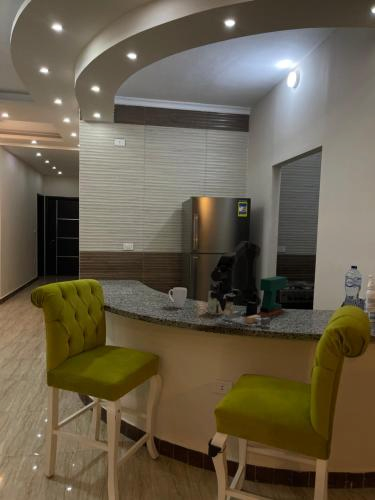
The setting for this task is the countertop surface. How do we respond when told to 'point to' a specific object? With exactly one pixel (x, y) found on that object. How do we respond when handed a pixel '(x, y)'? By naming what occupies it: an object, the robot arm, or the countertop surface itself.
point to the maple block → (227, 308)
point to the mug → (178, 296)
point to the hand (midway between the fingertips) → (225, 310)
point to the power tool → (271, 294)
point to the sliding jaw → (257, 319)
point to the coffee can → (213, 304)
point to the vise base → (239, 319)
